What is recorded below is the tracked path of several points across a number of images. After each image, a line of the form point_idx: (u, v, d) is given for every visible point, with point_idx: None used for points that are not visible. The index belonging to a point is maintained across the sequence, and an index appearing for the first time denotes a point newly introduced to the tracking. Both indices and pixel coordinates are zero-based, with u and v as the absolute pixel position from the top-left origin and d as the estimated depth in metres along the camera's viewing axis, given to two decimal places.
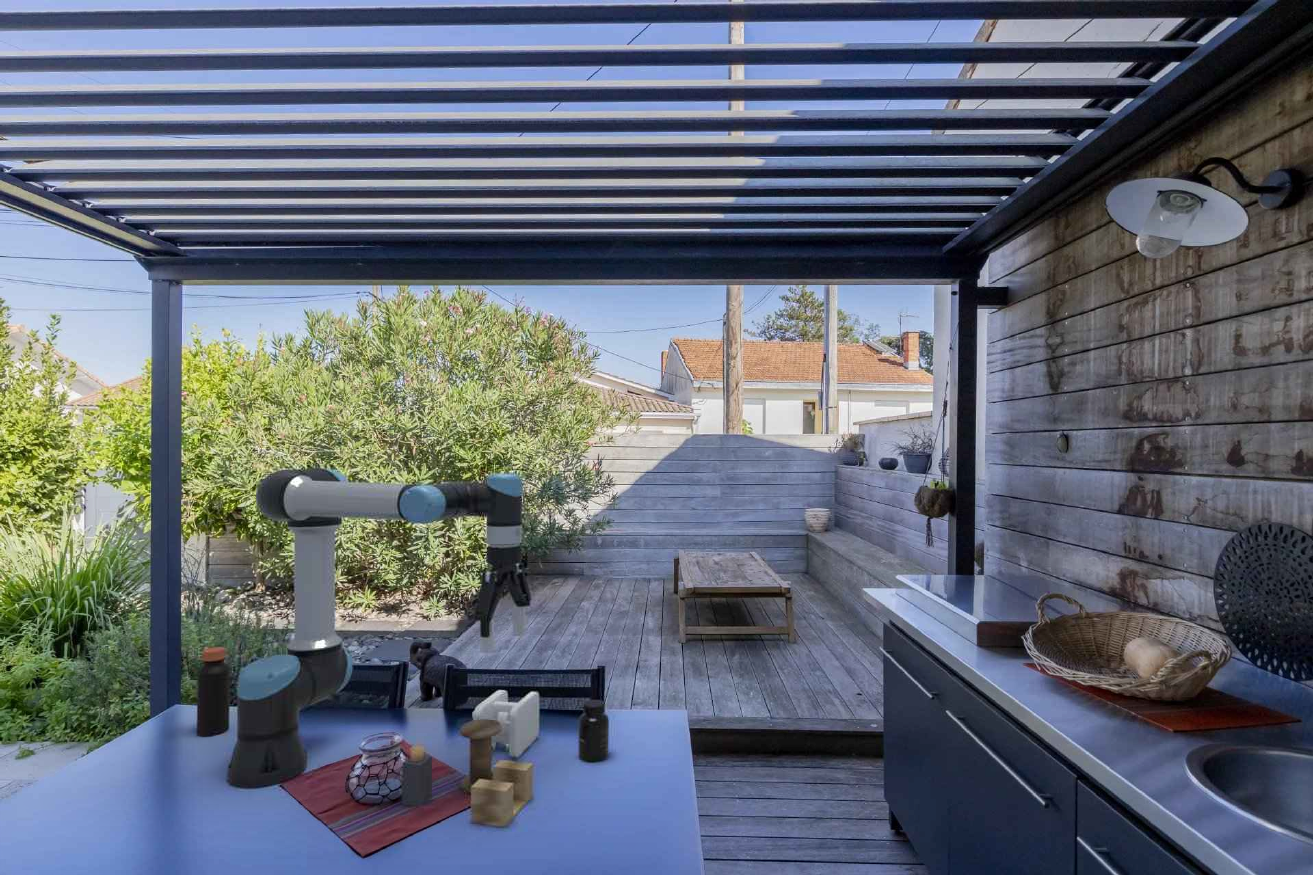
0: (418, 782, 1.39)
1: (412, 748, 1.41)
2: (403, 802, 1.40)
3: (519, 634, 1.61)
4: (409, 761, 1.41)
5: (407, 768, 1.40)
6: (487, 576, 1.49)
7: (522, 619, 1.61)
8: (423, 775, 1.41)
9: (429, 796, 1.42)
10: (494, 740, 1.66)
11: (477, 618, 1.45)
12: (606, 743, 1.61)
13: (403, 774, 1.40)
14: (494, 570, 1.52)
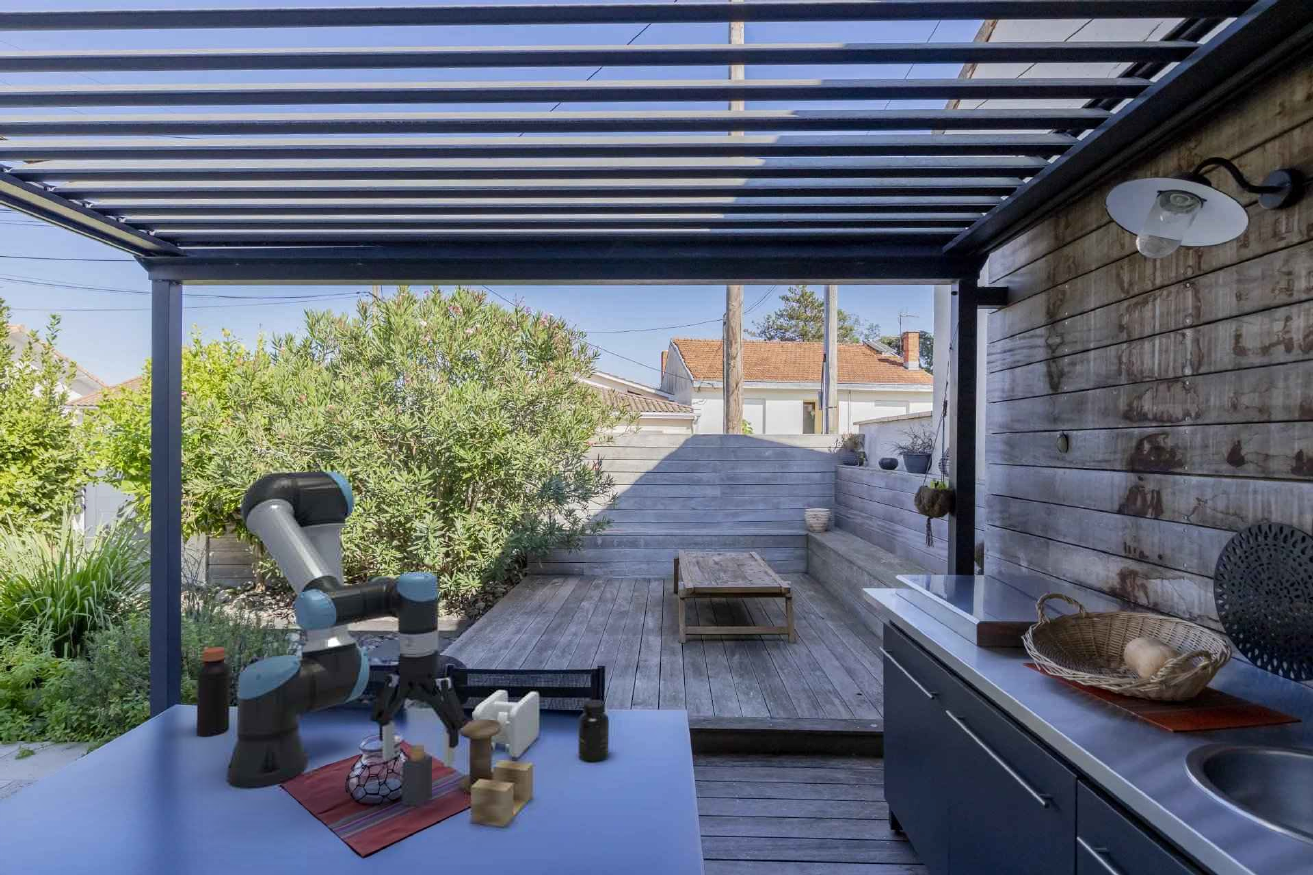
0: (418, 782, 1.39)
1: (412, 748, 1.41)
2: (403, 802, 1.40)
3: None
4: (409, 761, 1.41)
5: (407, 768, 1.40)
6: None
7: None
8: (423, 775, 1.41)
9: (429, 796, 1.42)
10: (494, 740, 1.66)
11: None
12: (606, 743, 1.61)
13: (404, 774, 1.40)
14: None
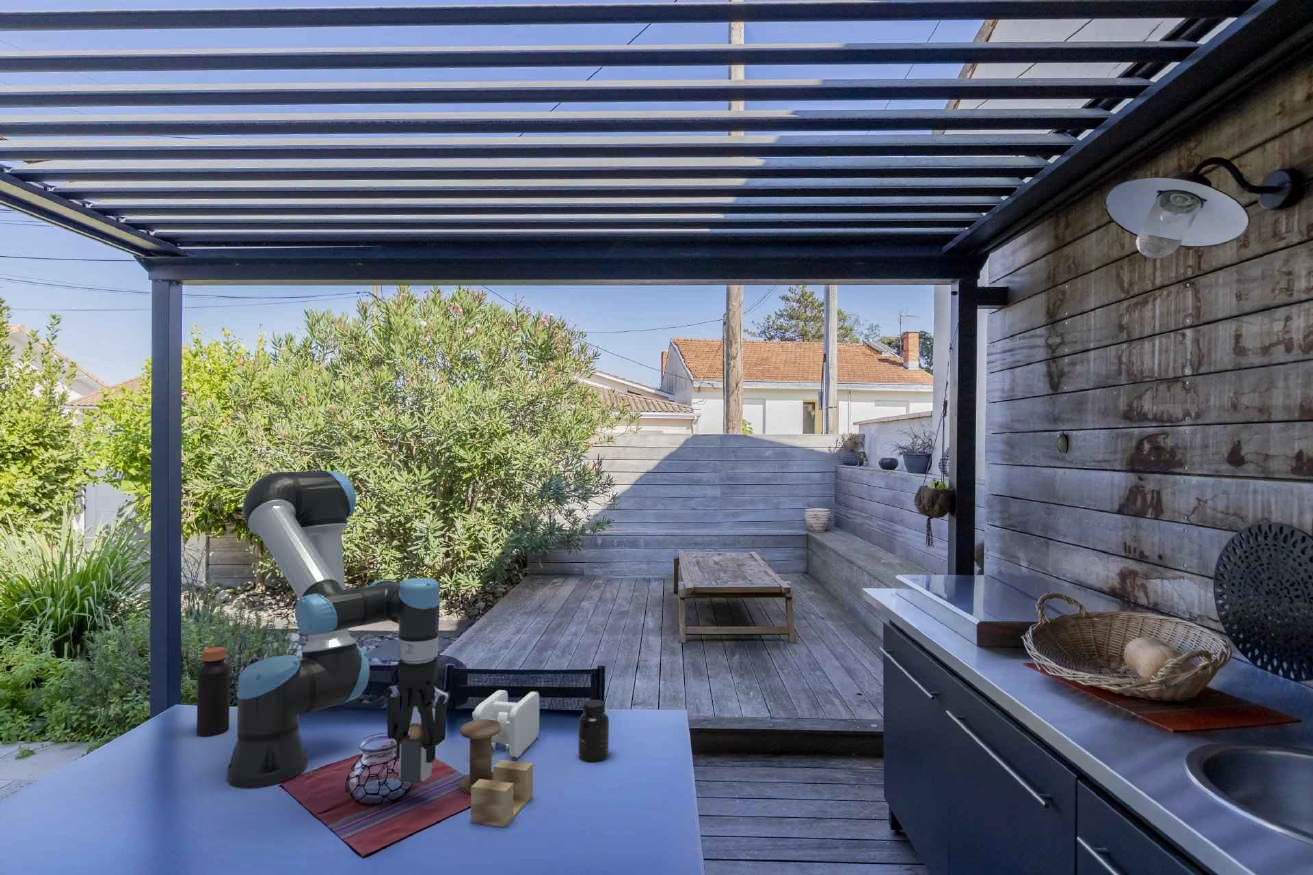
0: (417, 759, 1.40)
1: (411, 726, 1.42)
2: (401, 779, 1.41)
3: None
4: (408, 739, 1.41)
5: (406, 745, 1.41)
6: None
7: None
8: None
9: None
10: (494, 740, 1.66)
11: None
12: (606, 743, 1.61)
13: (402, 752, 1.41)
14: None
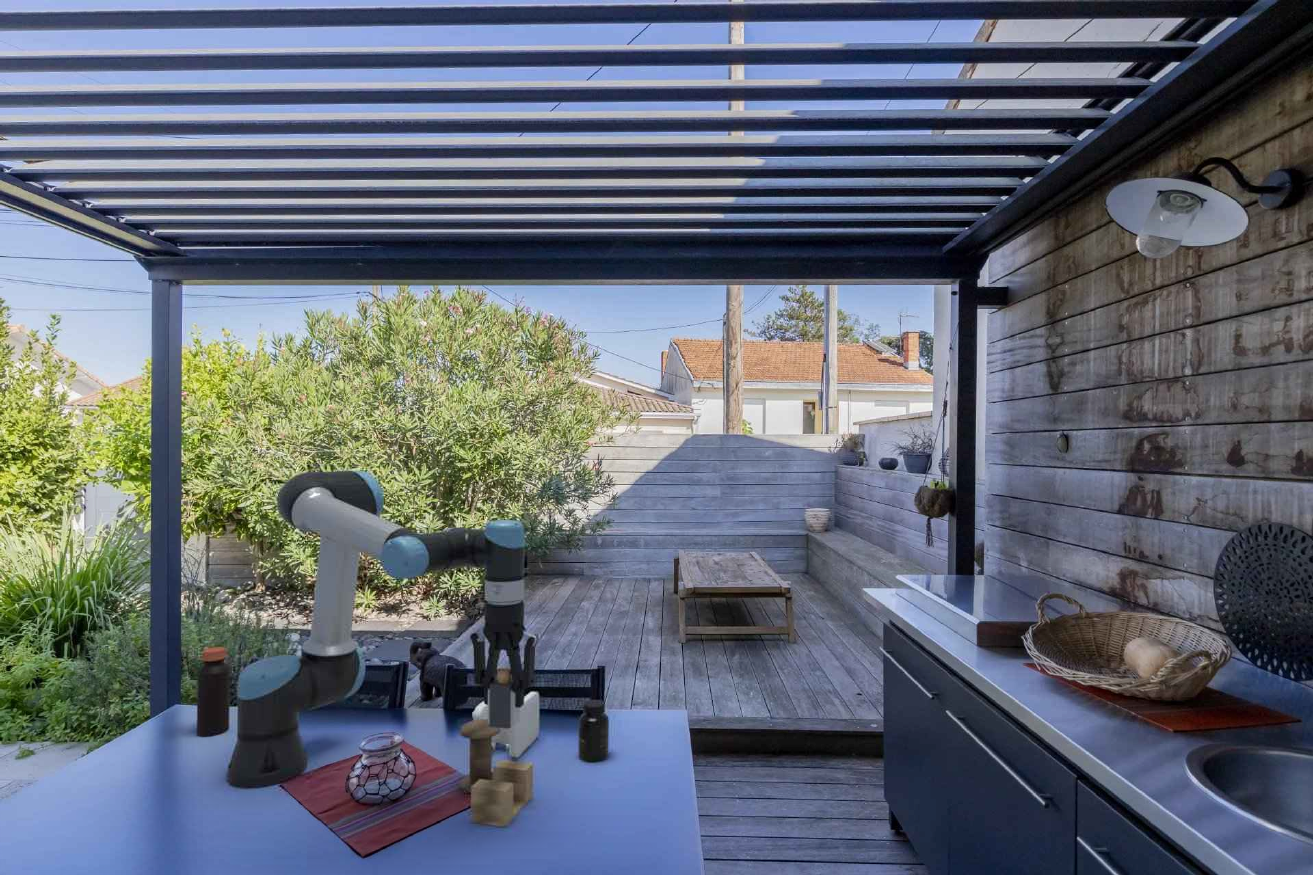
0: (507, 703, 1.36)
1: (499, 670, 1.38)
2: (490, 725, 1.37)
3: None
4: (496, 683, 1.38)
5: (495, 690, 1.37)
6: None
7: None
8: None
9: None
10: (494, 740, 1.66)
11: None
12: (606, 743, 1.61)
13: (491, 697, 1.37)
14: None
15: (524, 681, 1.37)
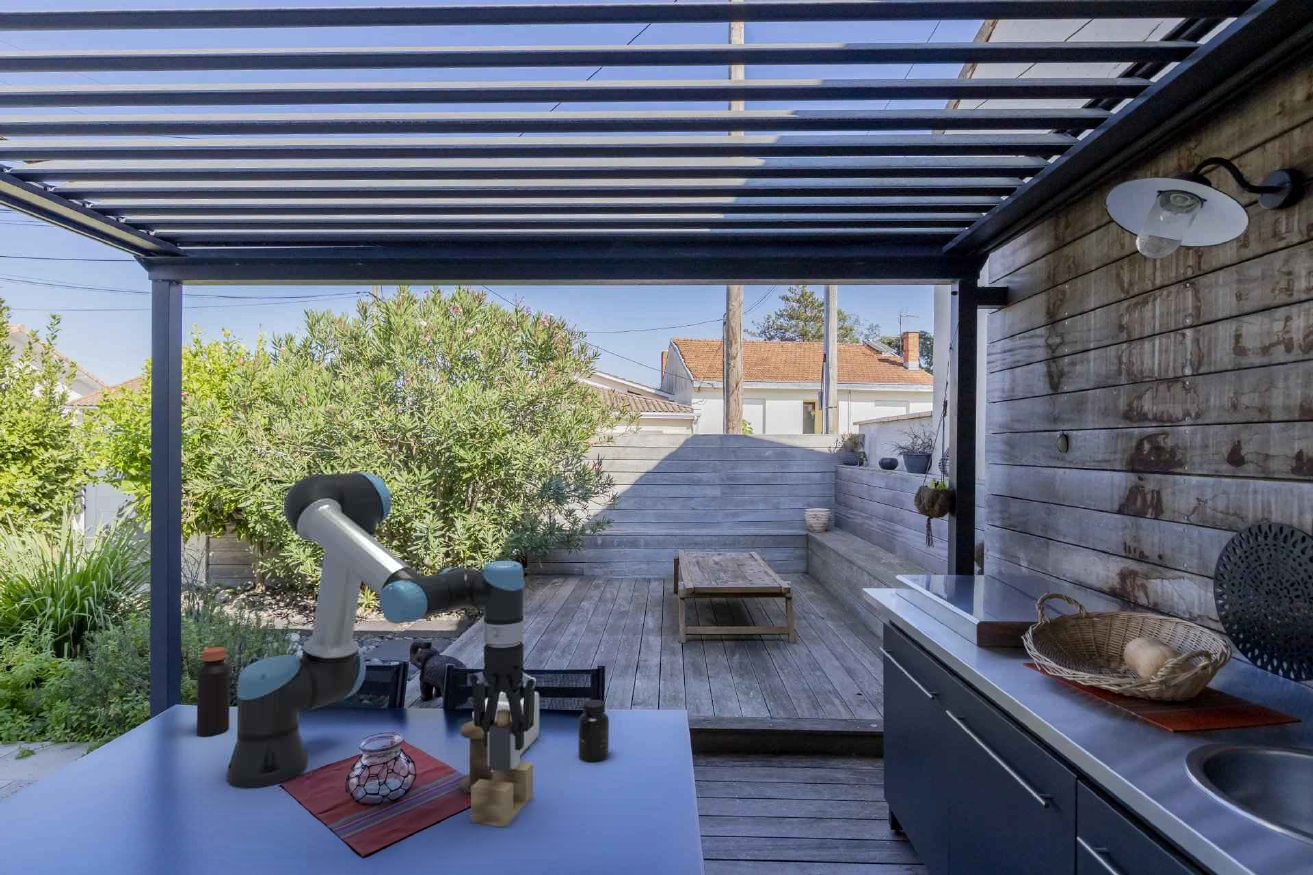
0: (506, 746, 1.36)
1: (498, 712, 1.38)
2: (490, 768, 1.37)
3: None
4: (496, 726, 1.38)
5: (494, 732, 1.37)
6: None
7: None
8: None
9: None
10: None
11: None
12: (606, 743, 1.61)
13: (491, 739, 1.37)
14: None
15: (524, 724, 1.36)
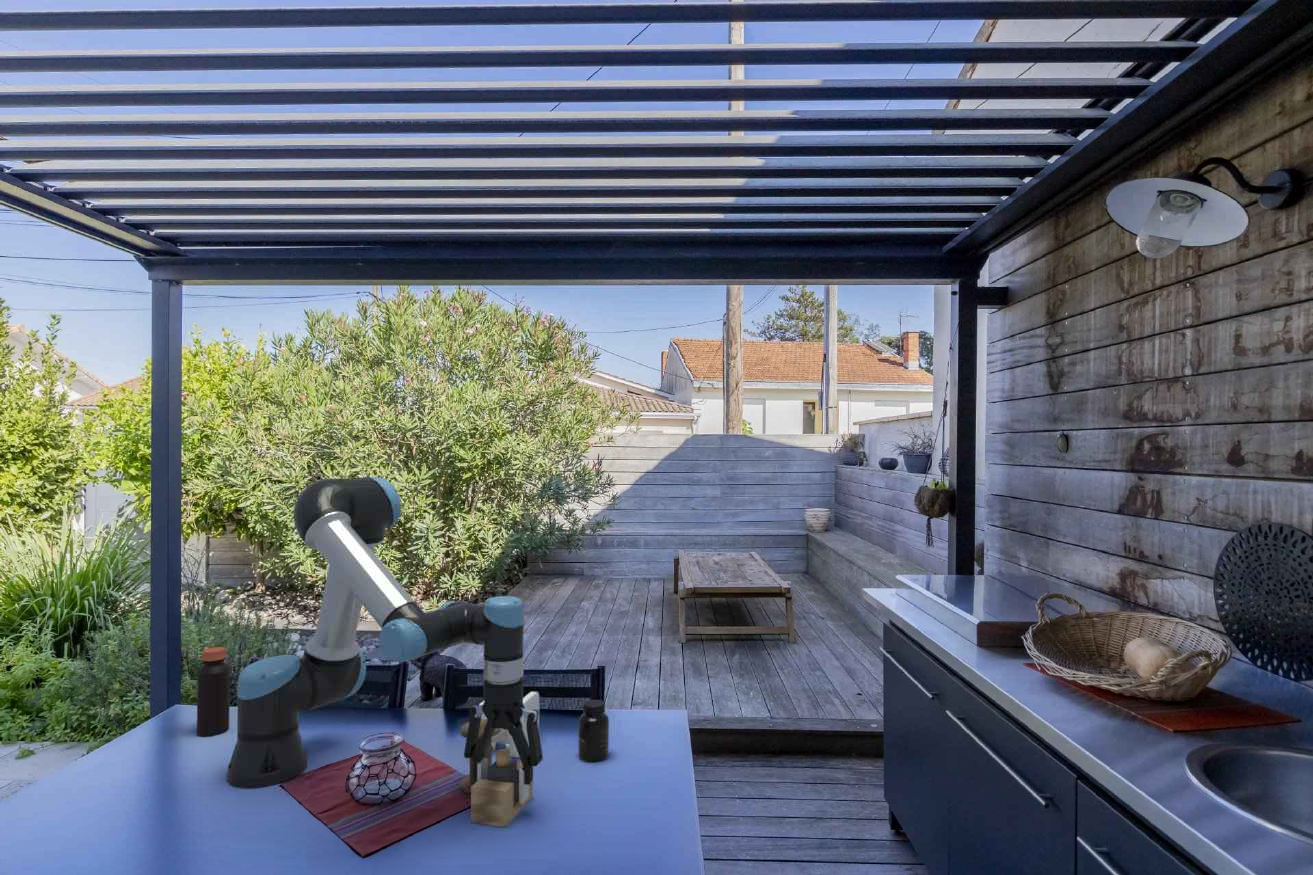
0: None
1: (498, 752, 1.38)
2: None
3: None
4: (495, 766, 1.38)
5: (494, 773, 1.37)
6: None
7: None
8: (510, 780, 1.37)
9: (514, 802, 1.39)
10: (494, 740, 1.66)
11: None
12: (606, 743, 1.61)
13: None
14: None
15: (532, 759, 1.36)
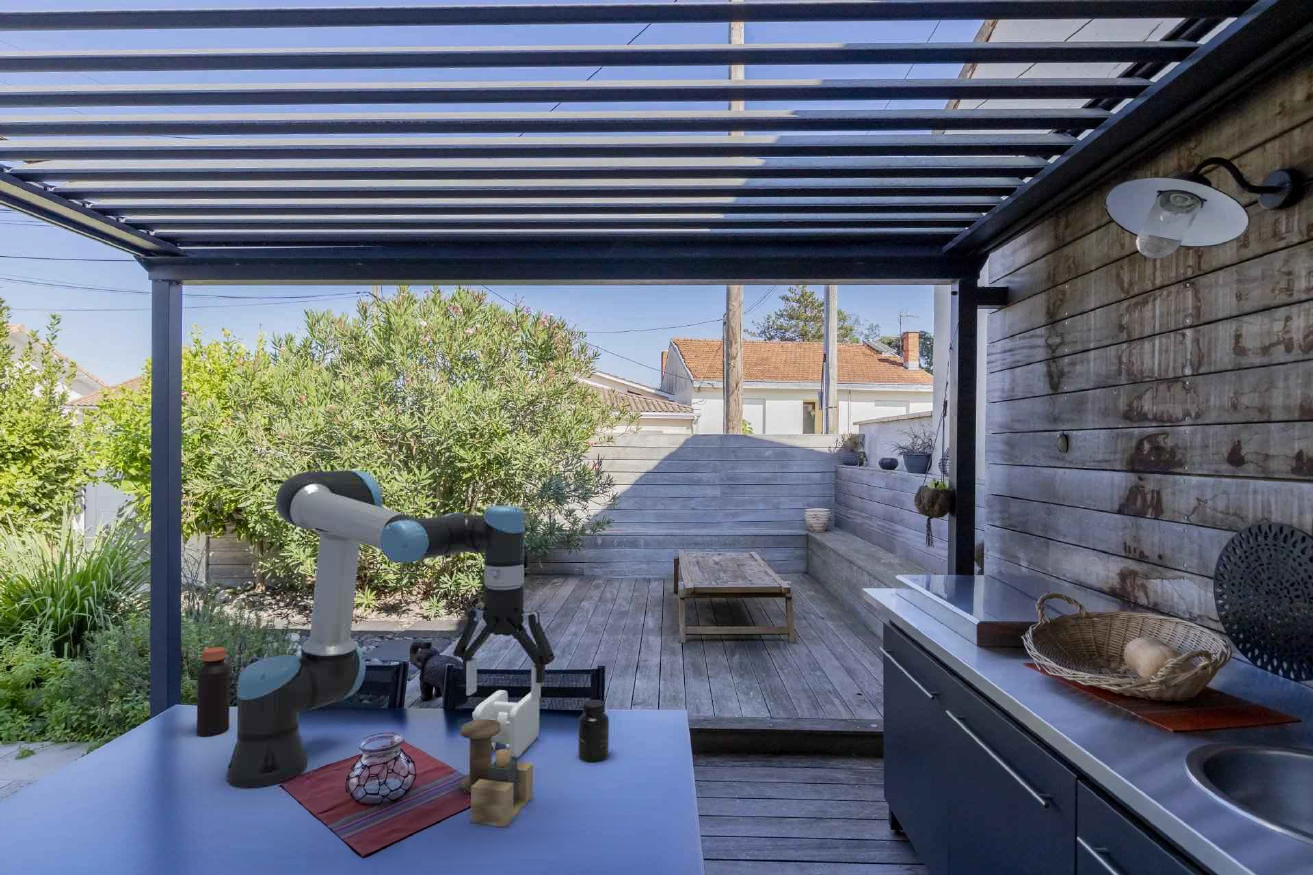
0: None
1: (498, 752, 1.38)
2: None
3: None
4: (495, 766, 1.38)
5: (494, 773, 1.37)
6: None
7: None
8: (510, 780, 1.37)
9: (514, 802, 1.39)
10: (494, 740, 1.66)
11: None
12: (606, 743, 1.61)
13: None
14: None
15: (544, 657, 1.35)
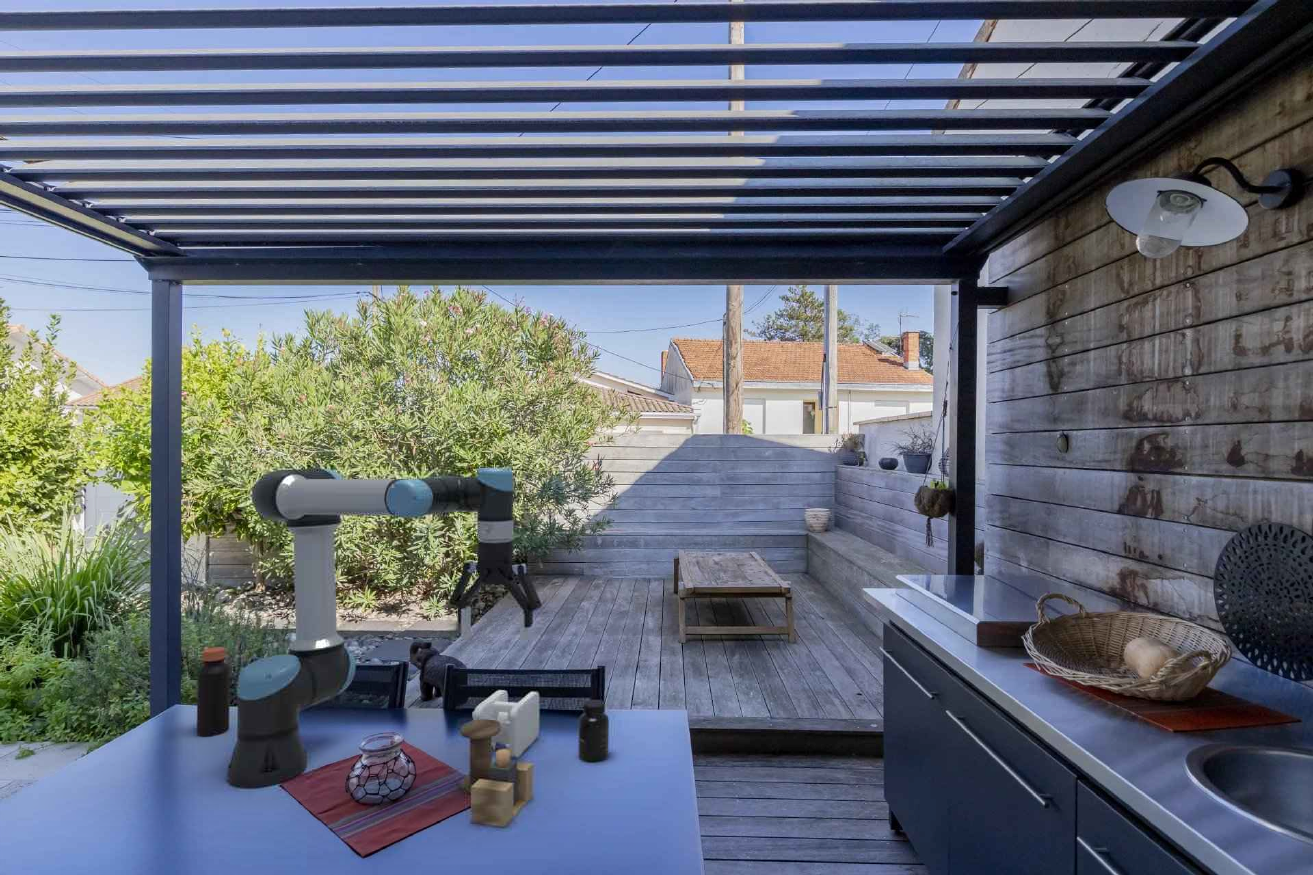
0: None
1: (498, 752, 1.38)
2: None
3: None
4: (495, 766, 1.38)
5: (494, 773, 1.37)
6: None
7: None
8: (510, 780, 1.37)
9: (514, 802, 1.39)
10: (494, 740, 1.66)
11: None
12: (606, 743, 1.61)
13: None
14: None
15: (531, 604, 1.49)
